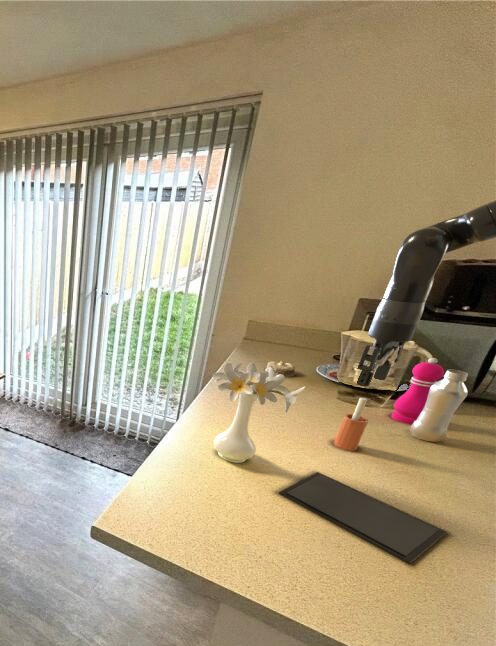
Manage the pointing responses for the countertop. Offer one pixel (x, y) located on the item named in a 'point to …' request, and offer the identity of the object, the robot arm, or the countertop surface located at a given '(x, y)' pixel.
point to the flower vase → (247, 407)
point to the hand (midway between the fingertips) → (370, 382)
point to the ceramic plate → (332, 372)
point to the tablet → (365, 516)
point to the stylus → (359, 409)
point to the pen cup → (350, 432)
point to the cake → (281, 368)
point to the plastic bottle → (440, 406)
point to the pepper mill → (417, 391)
